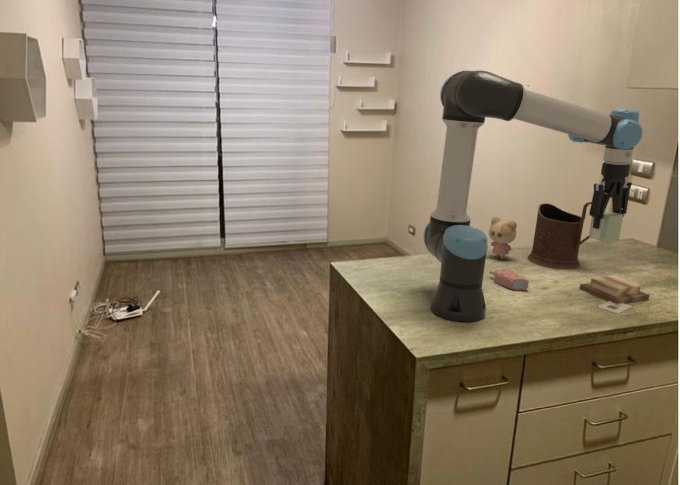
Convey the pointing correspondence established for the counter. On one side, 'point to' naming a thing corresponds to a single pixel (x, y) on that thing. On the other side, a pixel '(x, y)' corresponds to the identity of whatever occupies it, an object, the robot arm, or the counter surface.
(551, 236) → the cup holder
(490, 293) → the counter surface
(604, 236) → the sage brick
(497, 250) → the toy
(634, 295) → the base brick
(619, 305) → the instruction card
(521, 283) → the ice cream bar
